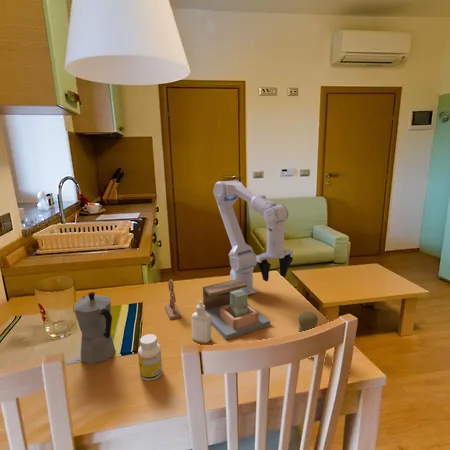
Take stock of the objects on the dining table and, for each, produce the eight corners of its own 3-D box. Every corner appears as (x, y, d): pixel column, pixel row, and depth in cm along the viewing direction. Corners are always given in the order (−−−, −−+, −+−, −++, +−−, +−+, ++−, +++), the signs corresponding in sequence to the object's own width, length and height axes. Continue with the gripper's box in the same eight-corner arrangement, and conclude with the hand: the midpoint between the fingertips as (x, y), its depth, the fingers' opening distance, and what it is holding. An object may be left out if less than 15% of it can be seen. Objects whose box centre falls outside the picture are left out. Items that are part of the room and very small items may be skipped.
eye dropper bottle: (200, 346, 87) (199, 307, 84) (190, 337, 91) (188, 300, 89) (213, 340, 90) (212, 303, 87) (202, 332, 94) (201, 296, 91)
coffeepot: (70, 351, 85) (61, 291, 81) (102, 336, 92) (96, 280, 88) (97, 377, 75) (89, 310, 71) (131, 358, 82) (126, 296, 78)
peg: (230, 317, 99) (230, 291, 97) (240, 314, 101) (240, 289, 99) (236, 323, 96) (236, 296, 94) (247, 320, 98) (247, 293, 96)
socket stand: (200, 312, 105) (199, 300, 104) (239, 301, 113) (240, 290, 112) (226, 340, 90) (225, 326, 89) (270, 325, 97) (270, 312, 96)
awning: (203, 308, 105) (202, 287, 103) (238, 299, 112) (238, 278, 110) (210, 316, 100) (210, 293, 98) (246, 305, 107) (246, 284, 105)
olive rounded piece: (318, 358, 82) (321, 320, 79) (295, 355, 83) (297, 318, 80) (316, 344, 87) (319, 309, 85) (294, 342, 89) (296, 307, 86)
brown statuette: (181, 317, 102) (180, 284, 100) (169, 320, 101) (168, 286, 98) (175, 305, 110) (173, 274, 108) (164, 307, 109) (162, 276, 106)
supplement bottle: (142, 366, 79) (139, 332, 77) (163, 365, 79) (161, 331, 77) (138, 382, 74) (135, 345, 71) (161, 380, 74) (158, 344, 72)
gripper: (265, 246, 98) (264, 286, 101) (299, 240, 105) (297, 277, 108) (252, 241, 104) (252, 279, 107) (286, 235, 111) (284, 271, 114)
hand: (274, 278), depth 108 cm, fingers open, 7 cm apart
